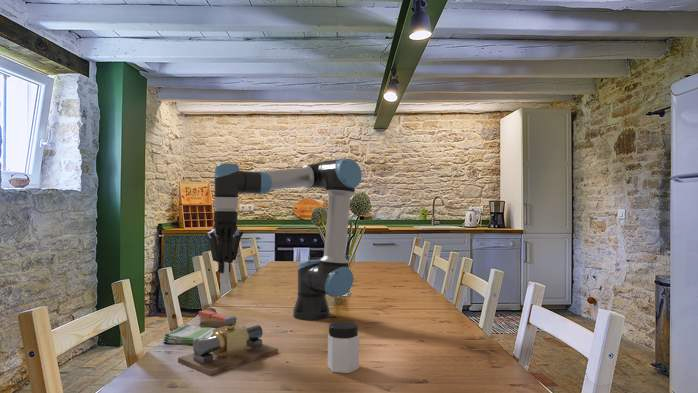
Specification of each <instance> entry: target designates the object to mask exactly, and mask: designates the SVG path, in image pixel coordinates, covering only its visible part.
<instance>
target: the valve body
mask: <svg viewBox="0 0 698 393" xmlns="http://www.w3.org/2000/svg"><path fill="white" fill-rule="evenodd" d="M263 334H264V332H263V329H262V327H261V326H260V325H259V324H257V325H253V326H249V327H246V326H244V325H236V324H232V325H226V326H224V327H220V328H216V329H213V334H212V335H211V337H210V338H207V339H203V340H200V341H196V342H195V343H194V345H192V350H193V353H194V361H196V362H198V363H201V364H203V365H204V364H207V363H210V362H213V354H215V355H218V356H221V357H224V358H226V359H228V358H231V357H234V356H237V355H240V354H243V353H246V352H247V346H249V347H252V348H258V347H261V346H262V344H263V339H262V336H263ZM210 352H213V354H210Z"/></svg>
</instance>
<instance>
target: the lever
mask: <svg viewBox="0 0 698 393" xmlns="http://www.w3.org/2000/svg"><path fill="white" fill-rule="evenodd" d="M216 312H217V311H216ZM216 312H212V311H208V310H204V309H203V310H200V311H198V317H205V318H208V319H215V320H219V321H222V322H224V324H226V325H232V324H235V325H236V324H237V316H233V315H231V316H230V315H228V316H227V315H223V314H219V313H218V312H217V313H216Z"/></svg>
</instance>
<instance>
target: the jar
mask: <svg viewBox="0 0 698 393" xmlns="http://www.w3.org/2000/svg"><path fill="white" fill-rule="evenodd" d="M327 367H328V369H329V370H330V371H331V372H332V373H339V374H351V373H353V372H355V371H358V370H359V369H360V335H359V325H358V323H355V322H351V321H335V322H334V321H333V322H331V323H330V324H329V325H328V333H327Z"/></svg>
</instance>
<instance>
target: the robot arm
mask: <svg viewBox="0 0 698 393" xmlns="http://www.w3.org/2000/svg"><path fill="white" fill-rule="evenodd" d="M239 167H240V166H239V165H238V164H237V163H230V162H229V163H228V162H227V163H226V162H224V163H223V162H221V163H217V164H216V165H215V168H214V169H215V170H214V197H213V198H214V200H213V203H214V204H213V209H214V210H215V211H213V222H214V223H213V224H214V225H213V227H212V229H211V231H207V232H206V235H205V236H207V239H208V241H209V246H210V252H211V257H212V261H213V262H217V263H218V264H217V265H218V267H217V268H218V269H217V272H218V273H219V283H221V284H228V283H229V281H230V280H229V277H230V272H231V268H232V267H231V266H232V264H231V263H233V262H234V261H236V260H237V256H238V252H239V247H240V243H241V238H242V237H243V235H244V231H243V230H239V229H238V226H237V223H238V214H239V213H238V211H237V210H238V209H239V195H248V194H249V195H250V194H251V195H252V194H254V195H255V194H256V195H263V194H264V195H265V194H269V193H270V191H275V190H281V189H292V188H300V187H304V188H306V189H311V188H312V189H313V188H314V189H315V188H317V189H319V188H320V189H325V192H326V194H327V195H328V204H327V213H326V214H327V215H326V225H325V226H326V227H325V237H324V248H323V256H322V257H320V259H312V260H311V259H309V260H308V259H307V260H302V261H301V260H300V261H298V262H299V263H298V266H297V298H296V301H295V304H294V306H293V311H292V314H293V315H292V316H293V317H294V318H296V319H297V320H298V319H299V320H304V321H306V320H309V321H310V320H311V321H312V320H316V321H317V320H322V319H326V318H329V317H330V315H331V314H330V313H331V312H330V311H331V310H330V307H329V304H328V300H327V297H326V296H327V295H328V296H329V297H335V298H336V297H337V298H338V297H343V296H345V295H347V293H348V292H349V291H351V288H352V287H353V283H354V273H353V272H352V270H351V269H350V268H349V265H350V264H349V263H350V262H349V261H348V259H347V258H346V254H347V252H346V251H347V243H348V242H347V241H348V240H347V239H348V231H349V230H348V229H349V218H350V217H349V216H350V205H351V204H350V203H351V197H353V196H354V195H355V193H356V192H355V191H356V190H355V189H356V187H358V186H359V184H361V182H362V176H363V173H362V170H361V167H360V165H359V164H358V162H357V161H355V160H354V159H352V158H343V157H341V158H338V159H330V160H329V159H328V160H324V161H319V162H316V163H312V164H311V163H310V164H305V165H302V167H296V168H295V167H293V168H286V169H285V168H284V169H283V168H282V169H273V170H263V171H250V170H249V171H247V170H241V169H240V168H239Z"/></svg>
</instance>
